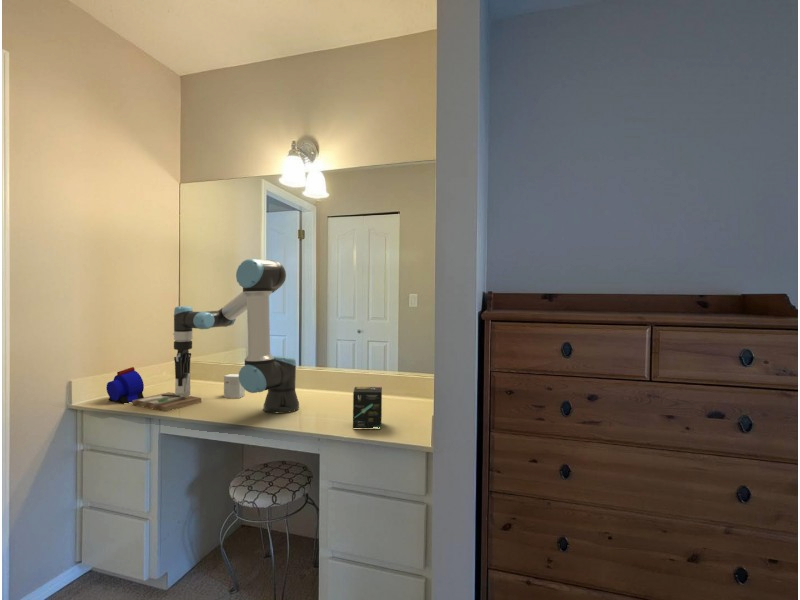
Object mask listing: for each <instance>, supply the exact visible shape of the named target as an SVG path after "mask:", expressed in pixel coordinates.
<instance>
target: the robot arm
mask: <svg viewBox="0 0 800 600" xmlns="http://www.w3.org/2000/svg"><path fill="white" fill-rule="evenodd" d="M235 277H236V282H237V283H238V285H239V286H240V287H242V292H240V293H239V294H238V295H237V296H236V297H234V298H233V299H232V300H230V301H229V302H228V303H226V304H225V305H224V306H223V307H221V308H220V309H218V310H211V311H210V310H207V311H194V310H193V306H189V305H188V306H187V305H186V306H185V305H183V306H181V305H180V306H175V307H174V309H173V310H174V313H173V334H172V335H173V340H174V341H173V349H174V350H175V351H177V353H176V356H174V357H173V360H174V374H175V376H174V377H175V379H178V393H184V392H185V378H184V373H190V374H191V357H192V353H191V352H190V351H189V350H191V349H193V329H199V330H209V329H212V328H221V327H222V328H226V327H230V326H233V325H234V324H235V322H236V319H237V318H238V317H239V316H240V315H242V314H243V313H244V312H245V311H247V312H246V316H247V319H246V321H247V349H248V351H247V352H248V353H247V354H248V355H247V356H246V357H245V358H244V366H242V367H241V368H240V370H239V372H238V374H239V381H240V384H241V386H242V387H244V389H245V391H246V392H248V393H250V394H256V393H262V392H265V391H267V393H266V397H265V400H264V402H263V411H264V412H266V411H267V412H266V413H269V412H288V413H290V412H289V411H293V412H295V411H294V410H296V411H298V410H299V409H300V402H299V399H298V396H297V392H296V373H297V372H296V371H297V370H296V369H297V365H296V359H295V357H291V356H284V355H283V356H282V355H281V356H280V355H279V356H278V355H272V354H271V336H270V335H271V334H270V329H271V328H270V327H271V326H270V301H269V299H270V295H271V294H273V293H275V292H276V291H277V290H279V289H280V288H281V287H282V286H283V285H284V284H285V281H286V278H287V271H286V269H285V266H283V264H282V263H280V262H278V261H276V260H269V259H268V260H267V259H261V258H248V259H247V258H246V259H244V260H243V261H241V263H240V264H239V265H238V266H237V269H236V274H235ZM298 408H299V409H298ZM297 409H298V410H297Z"/></svg>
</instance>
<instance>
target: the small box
mask: <svg viewBox="0 0 800 600" xmlns="http://www.w3.org/2000/svg"><path fill="white" fill-rule="evenodd" d="M245 391H246V390H245V389H244V387H242V386H241V384H240V381H239V373H236V374H235V373H229V374H226V375H224V376H223V397H224V398H226V399H240V397H241V398H242V396H243V397H245V396H246V395H245V394H246V393H245Z"/></svg>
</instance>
